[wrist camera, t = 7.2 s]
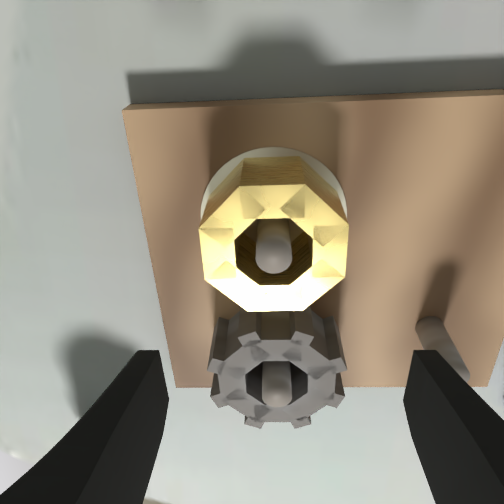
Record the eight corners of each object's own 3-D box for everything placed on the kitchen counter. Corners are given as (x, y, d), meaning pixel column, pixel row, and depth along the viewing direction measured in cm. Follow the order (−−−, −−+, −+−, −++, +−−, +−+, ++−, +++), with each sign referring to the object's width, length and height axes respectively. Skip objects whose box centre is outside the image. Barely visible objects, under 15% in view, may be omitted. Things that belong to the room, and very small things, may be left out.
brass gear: (339, 154, 17) (352, 182, 15) (332, 268, 20) (342, 309, 18) (205, 159, 18) (193, 187, 15) (216, 270, 21) (208, 311, 18)
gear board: (567, 86, 17) (667, 114, 13) (478, 370, 25) (521, 446, 21) (130, 104, 18) (86, 135, 14) (179, 372, 26) (161, 445, 22)
